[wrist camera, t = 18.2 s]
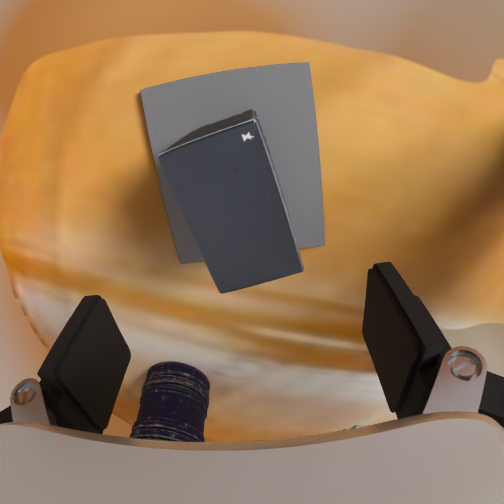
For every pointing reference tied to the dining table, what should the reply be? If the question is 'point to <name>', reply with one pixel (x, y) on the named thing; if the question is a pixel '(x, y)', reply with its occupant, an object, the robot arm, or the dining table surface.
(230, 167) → the small box
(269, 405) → the dining table surface
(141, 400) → the storage jar
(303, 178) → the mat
